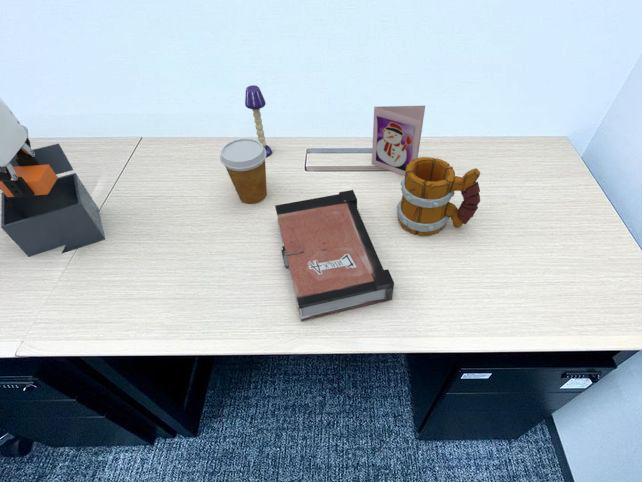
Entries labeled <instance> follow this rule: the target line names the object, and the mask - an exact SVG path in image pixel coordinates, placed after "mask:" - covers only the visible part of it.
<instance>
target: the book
mask: <svg viewBox="0 0 642 482" xmlns="http://www.w3.org/2000/svg"><path fill="white" fill-rule="evenodd" d="M274 207H275V212H276V217H277V223H278V227H279V231H280V236H281V240H282V244H283V245H282V247H281V248H282V249H281V254H282V260H283V264H284V267H285V268H286V269H288V270H289V275H290V278H291V282H292V287H293V290H294V291H293V292H294V296H295V301H296V303H297V307H298V312H299V316H300V320H301V321H300V322H304V321H309V320H313V319H317V318H321V317H326V316H330V315H334V314H338V313H342V312H343V313H344V312H347V311H350V310H355V309H360V308H364V307H368V306H372V305H376V304H380V303H384V302H390V301H392V300H393V296H394V289H395V281H394V279H393V277H392V275H391V272H390V270H389V269H388V268H387V269H384V267H383V265H382V263H381V261H380V258H379V256H378V254H377V251H376V249H375V246H374V244H373V242H372V240H371V237H370V235H369V233H368V230H367V228H366V225H365V224H364V221H363V219H362V217H361V215H360V212H359V209H358V198H357V196H356V193H355V191H354V189H350V190H344V191H339V192H338V194H332V195H326V196H320V197H315V198H310V199H304V200H298V201H291V202H287V203H286V202H285V203H281V204H275V205H274Z"/></svg>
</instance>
